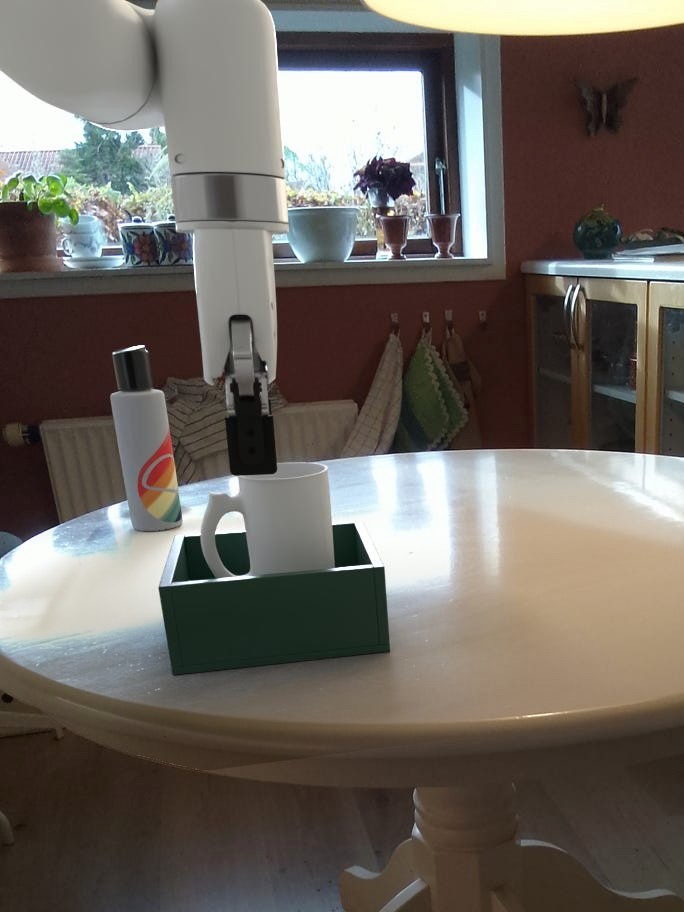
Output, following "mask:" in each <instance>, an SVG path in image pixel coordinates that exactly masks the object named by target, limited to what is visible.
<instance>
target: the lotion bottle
mask: <svg viewBox="0 0 684 912" xmlns="http://www.w3.org/2000/svg"><path fill="white" fill-rule="evenodd" d="M111 355H112V356H111V357H112V361H113V368H114V374H115V379H116V384H117V389H118V391H116V392H113V393H110V396H109V397H110V405H111V411H112V417H113V418H112V419H113V423H114V429H115V435H116V440H117V446H118V447H117V448H118V452H119V458H120V463H121V465H120V466H121V470H122V476H123V477H122V478H123V482H124V488H125V494H126V500H127V505H128V512H129V517H130V523H131V526H132V529H134V530H135V529H136V530H135V531H139V530H140V531H139V532H158V531H159V530H160V531H166V530H165V529H167V530H172V529H174V528H177V527H180V526H181V525H182V524H183V511H182V505H181V497H180V491H179V484H178V479H177V472H176V464H175V458H174V452H173V444H172V438H171V431H170V424H169V417H168V410H167V405H166V398H165V397H166V396H165V393H164V391H162V390H160V389H155V388H154V387H155V386H154V378H153V371H152V364H151V357H150V352H149V351H148V350H146V347H145V345H137V346H132V347H128V348H120V349H116V350H115V351H113V352H112V354H111ZM160 531H159V532H160Z"/></svg>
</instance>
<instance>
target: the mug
mask: <svg viewBox="0 0 684 912" xmlns="http://www.w3.org/2000/svg"><path fill="white" fill-rule="evenodd" d="M237 479H238V488H239V489H238V493H237V494H234V495H229V494H228V493H227V492H226V491H221V492H220V491H219V492H214V491H211V492H209V493H208V502H207V505H206V508H205V512H204V513H203V518H202V521H201V526H200V533H201V537H200V538H201V546H202V551H203V554H204V557H205V560H206V562H207V564H208V566H209V568H210V569H211V571H212V573H213V574H214V576H215V577H216V579H219V578H230V577H241V576H252V575H263V574H274V573H285V572H297V571H308V570H319V569H330V568H335V562H334V548H333V532H332V523H333V519H332V518H333V517H332V502H331V489H330V480H329V479H330V478H329V467H328V466H327V465H326V464H323V463H316V462H306V461H305V462H303V461H301V462H300V461H298V462H297V461H296V462H295V461H293V462H277V472H276V473H275V474H268V475H245V476H237ZM233 512H237V513H240V514H241V516H242V518H243V523H244V530H246V537H247V543H248V550H249V557H250V568H251V569H250V572H249V573H248V574H245V575H241V576H235V575H233V574H231V573H230V572H229V571H228V570H227V569H226V568H225V567H224V565H223V564H222V562H221V560H220V558H219V555H218V552H217V549H216V545H215V532H217V528H218V524H220V523H219V522H220V521H221V519H222V518H223V517H224V516H225V515H226V514H229V513H233Z"/></svg>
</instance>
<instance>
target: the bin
mask: <svg viewBox="0 0 684 912" xmlns="http://www.w3.org/2000/svg"><path fill="white" fill-rule="evenodd" d="M332 532H333V548H334V562H335V568H330V569H319V570H308V571H297V572H285V573H274V574H263V575H252V576H241V575H245V574H248V573H249V572H250V569H251V568H250V557H249V550H248V543H247V537H246V530H245V529H239V530H238V529H237V530H226V531H225V530H224V531H216V532H215V545H216V549H217V552H218V555H219V558H220V560H221V562H222V564H223V565H224V567H225V568H226V569H227V570H228V571H229V572H230V573H231V574H233V575H235V576H241V577H230V578H219V579H216V577H215V576H214V574H213V573H212V571H211V569H210V568H209V566H208V564H207V562H206V560H205V557H204V554H203V551H202V546H201V538H200V537H201V532H200V533H188V534H187V533H186V534H176V535H174V536H173V540H172V543H171V545H170V550H169V551H168V555H167V559H166V562H165V565H164V568H163V572H162V574H161V578H160V580H159V584H158V586H157V588H158V594H159V601H160V606H161V607H160V608H161V613H162V619H163V624H164V631H165V632H164V633H165V638H166V644H167V651H168V655H169V663H170V667H171V669H170V670H171V674H172V676H178V675H187V674H195V673H196V674H197V673H204V672H205V673H206V672H213V671H222V670H223V671H224V670H233V669H242V668H251V667H260V666H268V665H269V666H270V665H277V664H286V663H296V662H305V661H315V660H322V659H323V660H325V659H333V658H340V657H341V658H342V657H348V656H349V657H352V656H360V655H361V656H362V655H368V654H370V655H371V654H378V653H385V652H386V653H389V652H390V651H391V645H390V643H391V642H390V641H391V640H390V628H389V626H390V625H389V611H388V598H387V597H388V596H387V583H386V582H387V581H386V569H385V565H384V563H383V561H382V559H381V557H380V555H379V552H378V551H377V548H376V546H375V544H374V542H373V540H372V538H371V536H370V534H369V531H368V530H367V528H366V525H365V523H364V521H363V520H354V521H353V520H348V521H339V522H338V521H337V522H336V521H335V522H332Z"/></svg>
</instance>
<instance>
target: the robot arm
mask: <svg viewBox="0 0 684 912" xmlns="http://www.w3.org/2000/svg"><path fill="white" fill-rule="evenodd" d="M154 7H155V8H154V9H147V8H144V7H142V6H139V5H136V4H134V3H132V2H130V1H127V0H0V71H1V72H2V73H3V74H4V75H6V76H7V77H8V78H9V79H11V80H12V81H13V82H14V83H16V84H17V85H18V86H19V87H21V88H22V89H24V91H27V93H29V94H31V95H32V96H34V97H35V98H37V99H38V100H40V101H42V102H44V103H46V104H48V105H50V106H52V107H55V108H57V109H59V110H62V111H65V112H67V113H70V114H72V115H74V116H76V117H77V118H79V119H81V120H84V121H86V122H88V123H89V124H92V125H94V126H97V127H99V128H102V129H105V130H110V131H115V132H125V133H127V132H140V131H145V130H152V129H157V128H163V127H164V131H165V132H164V133H165V139H166V151H167V158H168V168H169V177H170V184H171V185H170V186H171V194H172V203H173V211H174V212H173V213H174V222H175V231H176V233H180V234H190V235H191V234H192V251H193V253H192V254H193V269H194V271H193V272H194V273H193V274H194V285H195V294H196V307H197V316H198V326H199V336H200V345H201V346H200V347H201V357H202V369H203V370H202V371H203V380H204V382H205V383H207V384H208V385H210V386H215V385H216V383H217V380H218V378H222V377H223V378H224V384H225V398H226V399H225V400H226V408H227V409H226V411H227V416H226V415H225V416H224V423H225V434H226V444H227V445H226V446H227V454H228V464H229V472H230V474H231V475H232V476H235V477H238V476H245V475H268V474H275V473H276V472H277V463H278V461H277V460H278V459H277V448H276V436H275V423H274V415H273V413H272V401H271V398H269V394H268V385H270V384H271V383H272V382H273V381H275V380H276V376H277V359H278V357H277V355H278V318H277V317H278V314H277V296H276V295H277V294H276V278H275V277H276V276H275V262H274V247H273V236H275V235H286V234H287V235H288V234H290V225H289V212H288V211H289V210H288V209H289V208H288V196H287V182H286V179H287V178H286V167H285V165H286V164H285V153H284V152H285V151H284V141H283V126H282V124H283V123H282V111H281V97H280V96H281V95H280V81H279V80H280V79H279V66H278V65H279V64H278V50H277V37H276V36H277V35H276V29H275V27H276V26H275V23H274V19H273V16H272V14H271V11H270V10H269V8H268V7H267V5H266V3H264V2H263V1H262V0H157V2H156V4H155V6H154ZM223 373H224V375H223Z"/></svg>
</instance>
